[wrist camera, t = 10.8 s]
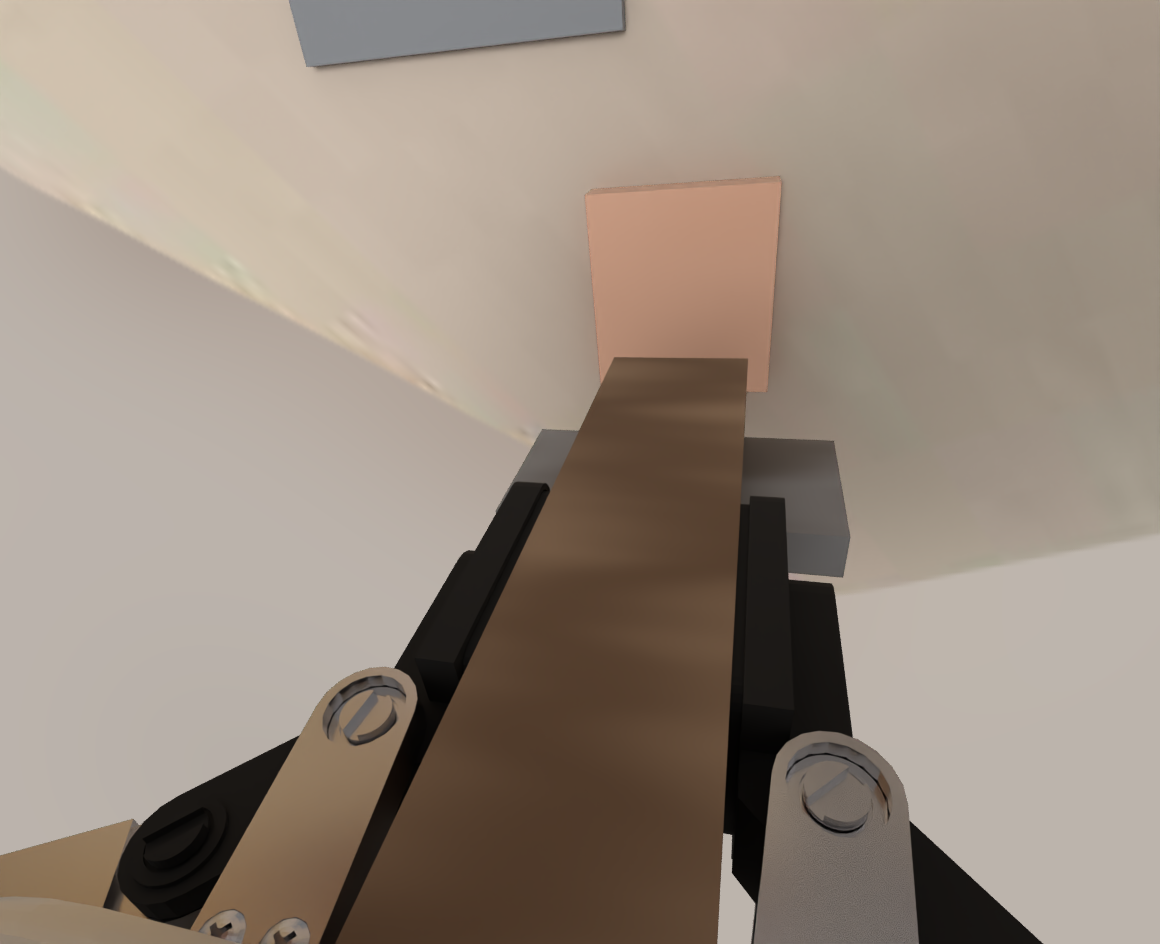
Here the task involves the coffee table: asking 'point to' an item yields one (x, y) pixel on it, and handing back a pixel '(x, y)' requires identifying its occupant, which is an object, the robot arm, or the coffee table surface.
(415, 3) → the mat
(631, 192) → the tile
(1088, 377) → the coffee table surface
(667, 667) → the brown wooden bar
